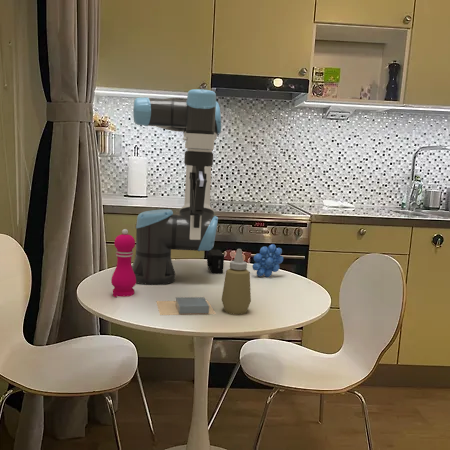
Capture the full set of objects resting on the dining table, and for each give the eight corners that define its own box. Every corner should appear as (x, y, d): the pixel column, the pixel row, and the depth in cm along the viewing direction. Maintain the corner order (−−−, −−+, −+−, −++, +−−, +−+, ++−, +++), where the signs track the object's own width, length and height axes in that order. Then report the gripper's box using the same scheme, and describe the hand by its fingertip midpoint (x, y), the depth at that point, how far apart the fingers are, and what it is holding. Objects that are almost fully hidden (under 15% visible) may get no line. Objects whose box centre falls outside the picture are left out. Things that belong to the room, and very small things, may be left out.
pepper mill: (114, 299, 148) (116, 231, 145) (108, 293, 154) (109, 227, 151) (138, 297, 151) (141, 230, 148) (131, 291, 157) (133, 226, 154)
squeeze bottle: (228, 318, 137) (231, 252, 134) (216, 309, 144) (219, 246, 141) (255, 316, 140) (259, 251, 137) (242, 307, 147) (246, 245, 145)
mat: (156, 303, 147) (156, 301, 147) (207, 302, 150) (207, 300, 150) (160, 317, 135) (160, 314, 135) (215, 316, 138) (215, 313, 138)
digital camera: (204, 267, 194) (205, 249, 193) (218, 267, 195) (219, 249, 194) (208, 274, 184) (209, 255, 183) (223, 274, 184) (224, 255, 183)
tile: (175, 297, 143) (179, 306, 136) (203, 297, 145) (209, 305, 137) (175, 305, 144) (179, 314, 136) (203, 305, 145) (208, 314, 138)
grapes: (277, 273, 190) (279, 241, 188) (284, 278, 183) (287, 245, 182) (247, 274, 186) (249, 241, 184) (254, 279, 180) (256, 245, 178)
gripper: (181, 149, 140) (178, 234, 143) (188, 150, 127) (184, 243, 131) (208, 150, 141) (204, 234, 145) (218, 152, 129) (213, 244, 133)
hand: (194, 239), depth 138 cm, fingers closed
